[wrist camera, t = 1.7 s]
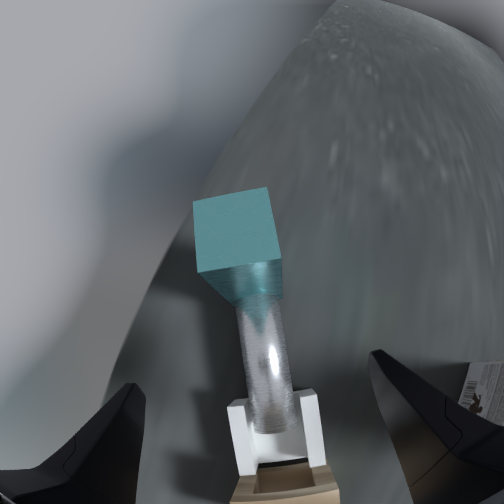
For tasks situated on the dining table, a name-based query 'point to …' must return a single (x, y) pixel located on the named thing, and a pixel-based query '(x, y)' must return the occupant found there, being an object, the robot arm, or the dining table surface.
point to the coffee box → (485, 390)
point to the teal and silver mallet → (250, 295)
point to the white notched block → (277, 435)
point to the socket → (288, 486)
